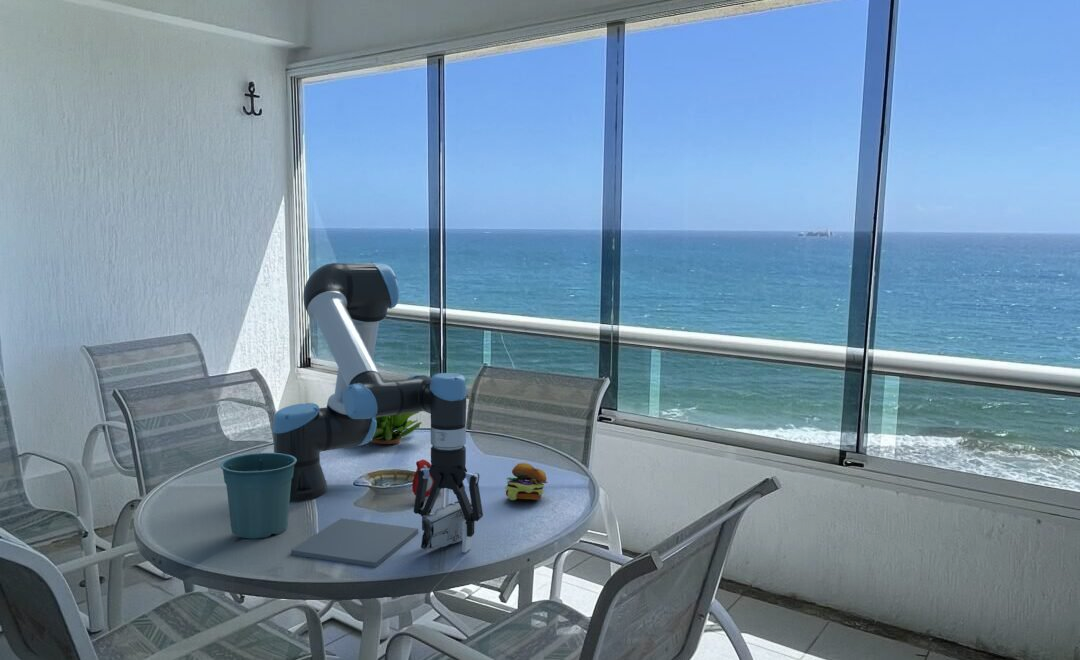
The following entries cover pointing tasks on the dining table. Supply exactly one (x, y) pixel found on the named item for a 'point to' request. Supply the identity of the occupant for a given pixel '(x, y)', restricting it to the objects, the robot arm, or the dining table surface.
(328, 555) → the mat
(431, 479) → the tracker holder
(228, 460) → the flower pot
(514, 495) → the cheeseburger
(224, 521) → the dining table surface
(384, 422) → the potted flower
